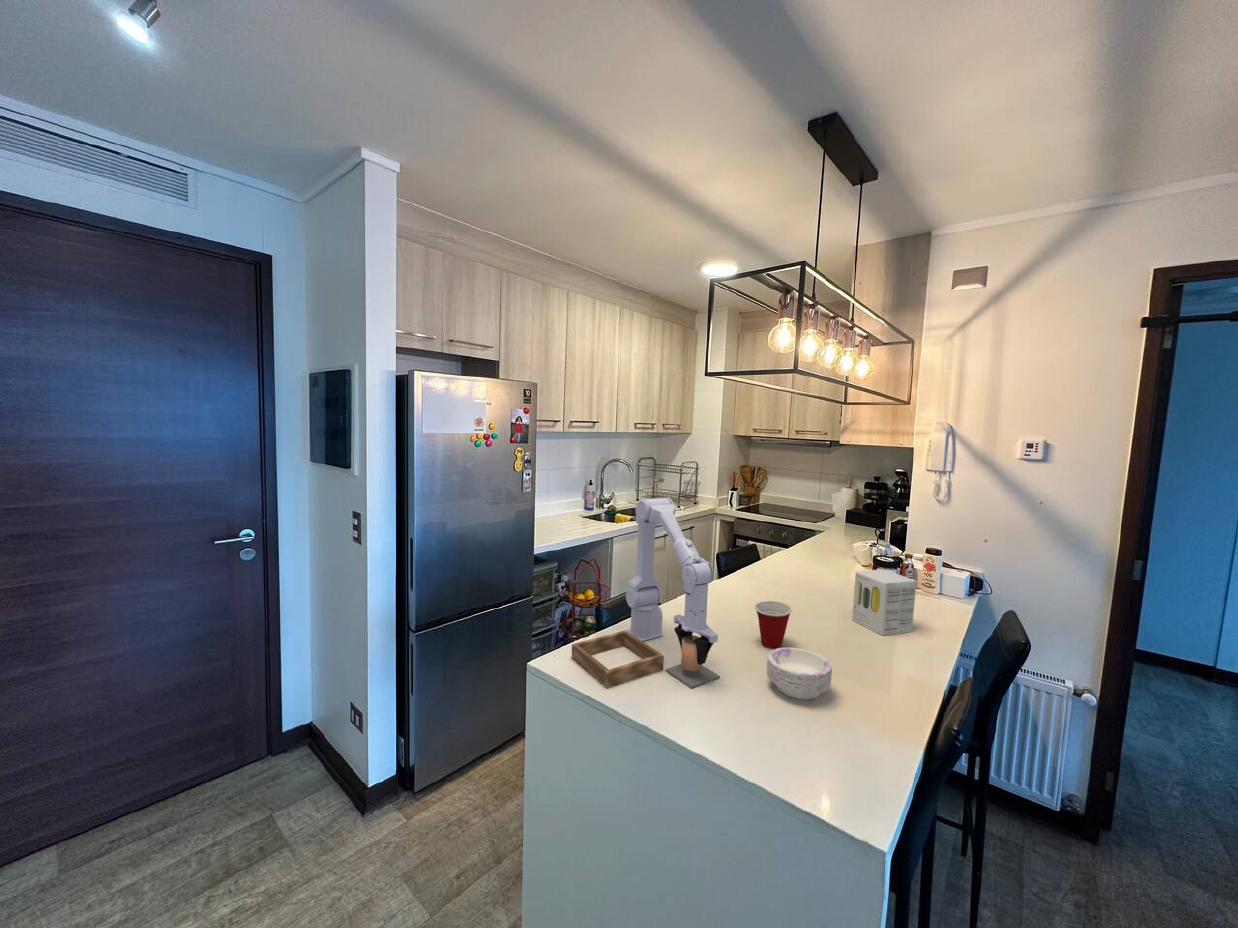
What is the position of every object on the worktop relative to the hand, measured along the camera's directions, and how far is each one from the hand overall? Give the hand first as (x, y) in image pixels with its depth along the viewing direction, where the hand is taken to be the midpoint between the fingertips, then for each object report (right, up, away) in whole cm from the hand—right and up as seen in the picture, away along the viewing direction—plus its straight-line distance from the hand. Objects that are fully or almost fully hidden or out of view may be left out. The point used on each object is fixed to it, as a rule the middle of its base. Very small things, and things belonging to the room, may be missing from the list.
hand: (693, 658), depth 128 cm
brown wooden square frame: (-20, -3, +5) cm, 21 cm away
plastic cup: (+26, -4, +20) cm, 33 cm away
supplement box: (+69, -4, +37) cm, 79 cm away
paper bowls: (+25, -6, -5) cm, 27 cm away
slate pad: (0, -5, 0) cm, 4 cm away
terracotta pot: (0, -2, 0) cm, 2 cm away
